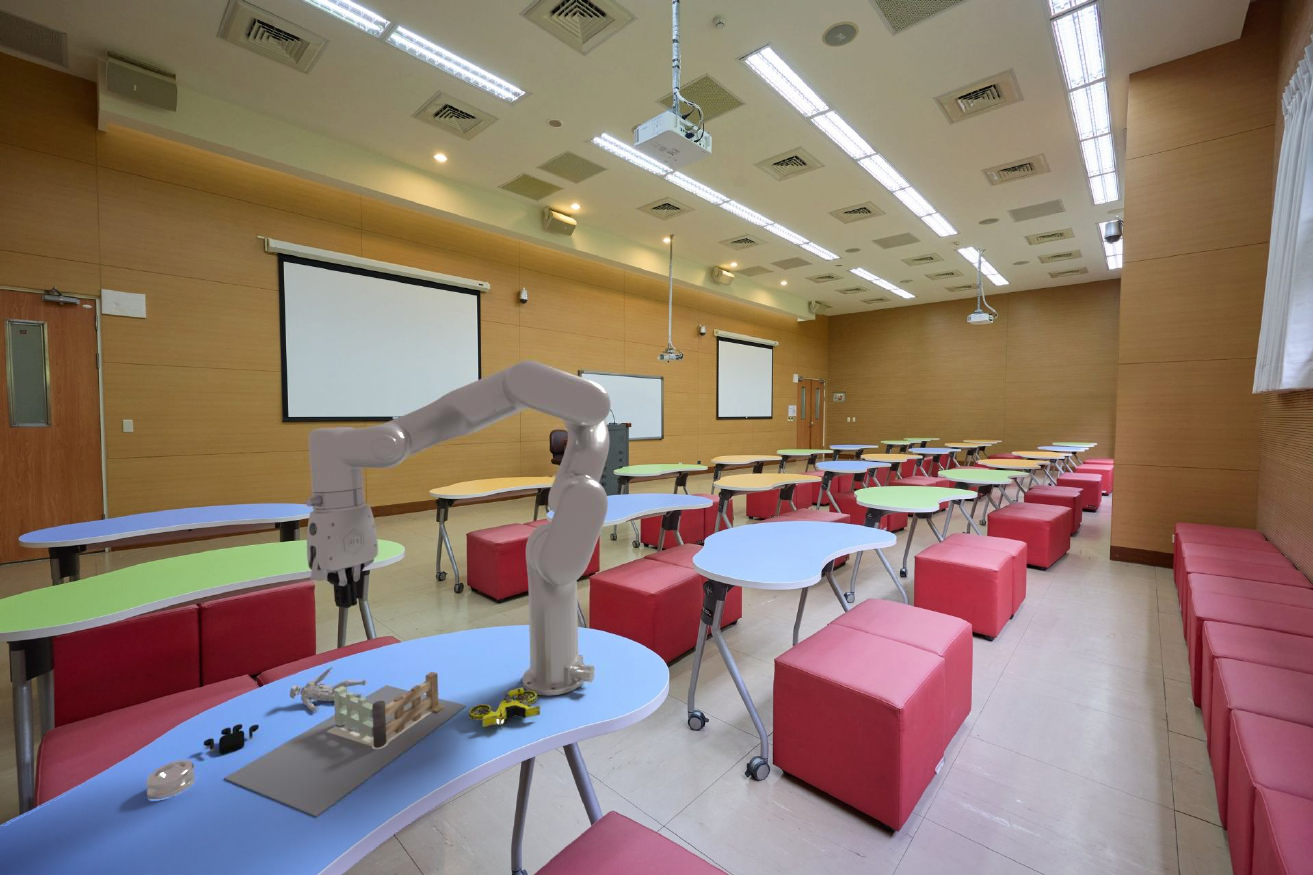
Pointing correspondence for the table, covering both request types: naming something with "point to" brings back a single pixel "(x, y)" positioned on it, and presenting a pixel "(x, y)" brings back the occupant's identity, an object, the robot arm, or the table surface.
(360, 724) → the fence swing section
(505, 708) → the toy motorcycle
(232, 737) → the wireless earbuds
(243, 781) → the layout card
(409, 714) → the fence fixed section
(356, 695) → the soldier figure
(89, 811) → the table surface
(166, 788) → the grooved metal pulley
